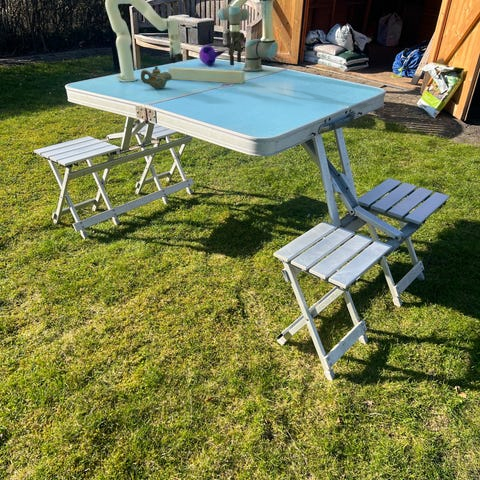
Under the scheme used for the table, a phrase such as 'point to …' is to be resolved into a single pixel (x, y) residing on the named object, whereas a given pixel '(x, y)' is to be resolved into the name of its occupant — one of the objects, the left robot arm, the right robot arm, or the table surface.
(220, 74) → the block
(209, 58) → the toy
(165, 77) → the teapot
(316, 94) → the table surface
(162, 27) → the left robot arm
